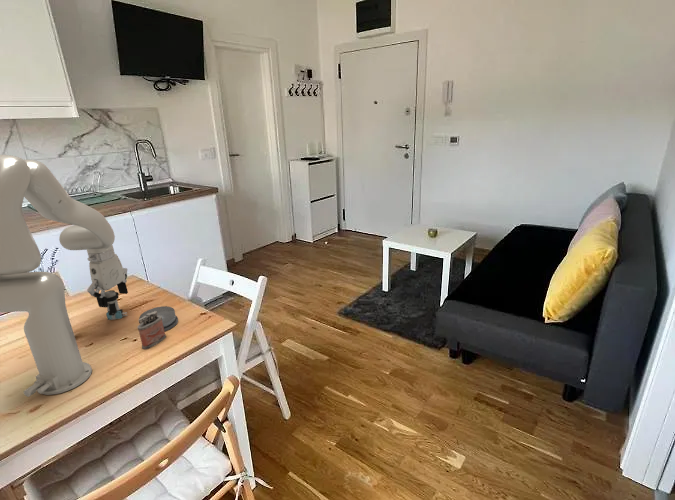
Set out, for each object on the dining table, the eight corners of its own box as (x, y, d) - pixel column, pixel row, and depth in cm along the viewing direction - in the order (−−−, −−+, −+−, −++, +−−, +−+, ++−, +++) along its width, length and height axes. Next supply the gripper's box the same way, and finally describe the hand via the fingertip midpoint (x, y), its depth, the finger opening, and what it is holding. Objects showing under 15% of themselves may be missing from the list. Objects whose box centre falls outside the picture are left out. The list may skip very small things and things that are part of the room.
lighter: (161, 334, 125) (155, 307, 121) (168, 336, 123) (162, 309, 120) (139, 347, 118) (132, 319, 115) (147, 350, 117) (140, 321, 113)
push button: (130, 313, 139) (124, 288, 135) (124, 320, 134) (118, 294, 131) (110, 314, 138) (104, 290, 135) (104, 322, 133) (97, 296, 130)
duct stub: (164, 335, 124) (162, 324, 123) (131, 332, 126) (129, 322, 125) (185, 316, 135) (183, 306, 134) (154, 314, 137) (152, 304, 136)
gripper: (91, 265, 119) (105, 313, 126) (129, 246, 135) (139, 289, 141) (70, 264, 121) (85, 311, 127) (110, 245, 137) (122, 288, 143)
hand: (114, 299), depth 134 cm, fingers open, 9 cm apart
